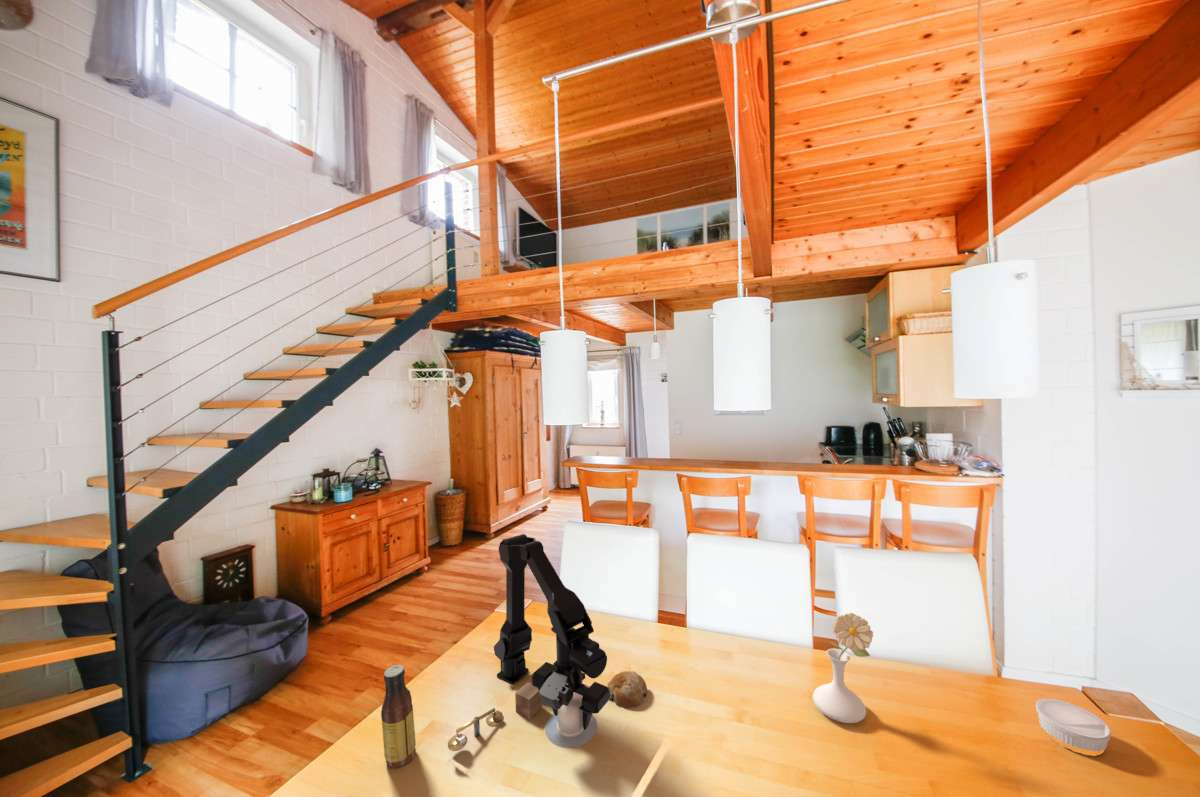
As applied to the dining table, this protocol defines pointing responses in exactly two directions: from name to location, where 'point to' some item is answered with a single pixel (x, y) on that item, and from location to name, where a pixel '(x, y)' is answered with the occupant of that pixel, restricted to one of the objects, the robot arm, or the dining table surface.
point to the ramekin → (1073, 724)
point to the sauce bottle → (397, 719)
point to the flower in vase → (836, 695)
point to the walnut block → (528, 700)
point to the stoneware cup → (571, 717)
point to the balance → (461, 740)
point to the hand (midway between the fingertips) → (570, 721)
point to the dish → (569, 741)
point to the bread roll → (627, 689)
